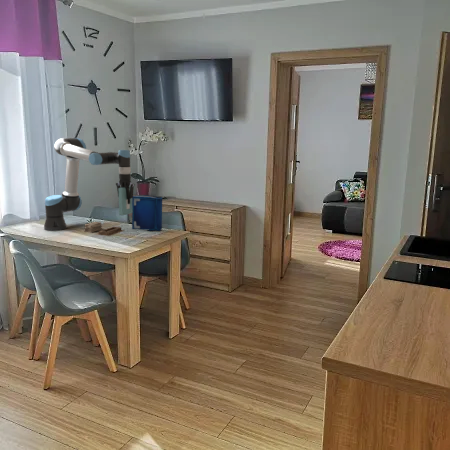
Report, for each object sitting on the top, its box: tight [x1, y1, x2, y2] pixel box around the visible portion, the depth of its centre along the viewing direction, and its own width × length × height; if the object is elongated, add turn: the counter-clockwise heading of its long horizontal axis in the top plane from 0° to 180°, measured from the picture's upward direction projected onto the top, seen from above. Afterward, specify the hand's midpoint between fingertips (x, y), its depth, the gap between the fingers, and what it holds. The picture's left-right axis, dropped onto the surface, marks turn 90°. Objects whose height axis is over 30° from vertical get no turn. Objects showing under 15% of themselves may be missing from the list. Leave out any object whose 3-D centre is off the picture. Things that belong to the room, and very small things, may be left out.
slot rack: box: [95, 226, 126, 237], centre depth 306 cm, size 12×19×3 cm, turn 159°
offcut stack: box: [83, 221, 104, 233], centre depth 310 cm, size 6×13×6 cm, turn 159°
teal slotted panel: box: [118, 186, 133, 216], centre depth 297 cm, size 2×12×18 cm, turn 159°
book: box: [131, 194, 163, 232], centre depth 318 cm, size 22×7×25 cm, turn 84°
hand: (125, 208), depth 298 cm, fingers closed on teal slotted panel, 2 cm apart
